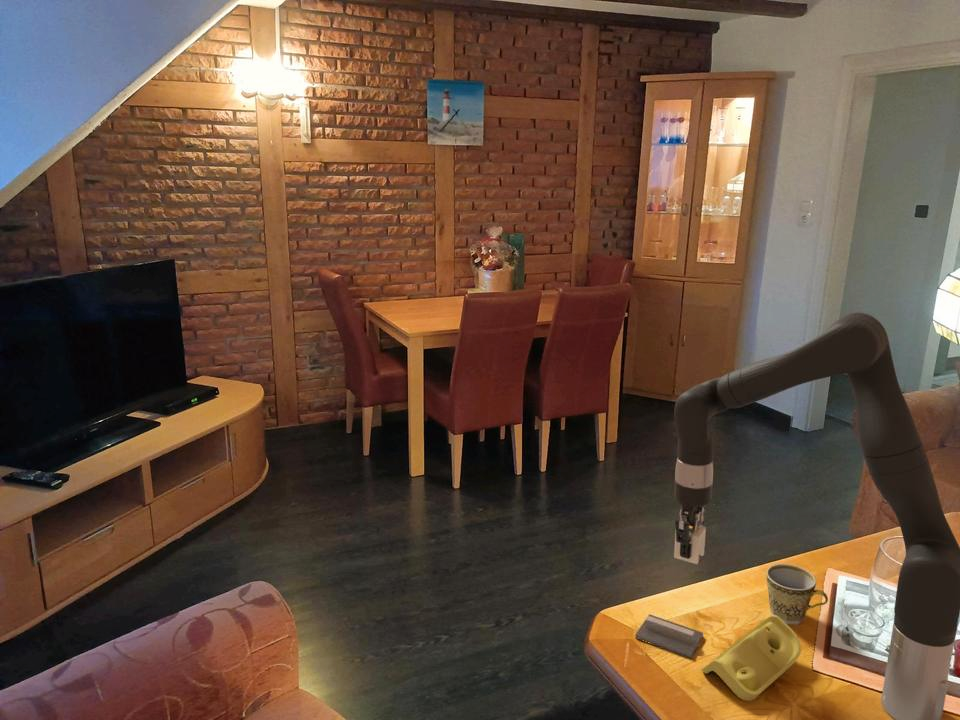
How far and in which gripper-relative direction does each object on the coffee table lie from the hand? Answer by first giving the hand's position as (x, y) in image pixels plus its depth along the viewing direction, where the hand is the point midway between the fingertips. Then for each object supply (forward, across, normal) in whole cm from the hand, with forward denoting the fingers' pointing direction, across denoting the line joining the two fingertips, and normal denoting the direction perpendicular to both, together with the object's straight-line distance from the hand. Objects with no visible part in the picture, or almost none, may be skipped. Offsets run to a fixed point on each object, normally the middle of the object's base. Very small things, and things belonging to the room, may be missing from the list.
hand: (689, 550), depth 149 cm
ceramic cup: (+18, +13, -20) cm, 30 cm away
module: (+1, 0, 0) cm, 1 cm away
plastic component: (+18, -8, -17) cm, 26 cm away
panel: (+17, -8, +1) cm, 19 cm away
